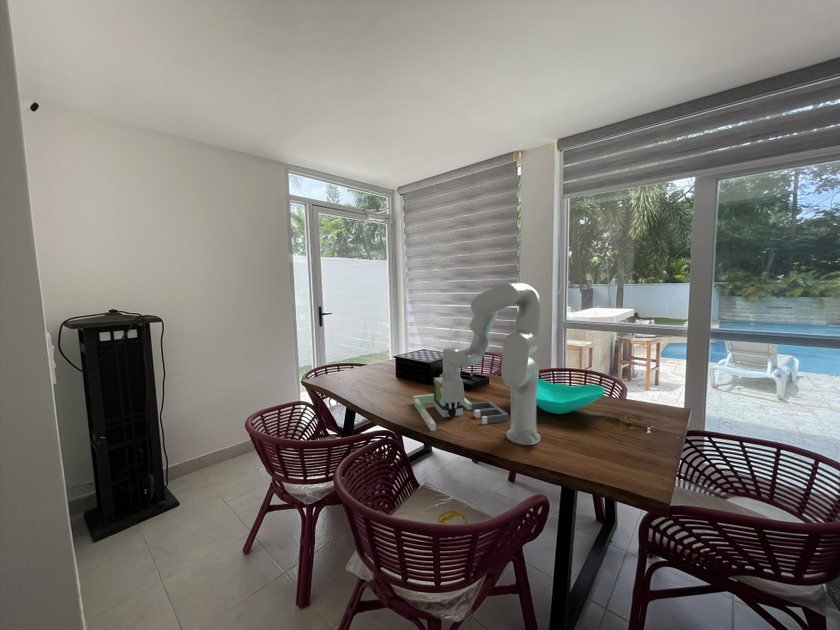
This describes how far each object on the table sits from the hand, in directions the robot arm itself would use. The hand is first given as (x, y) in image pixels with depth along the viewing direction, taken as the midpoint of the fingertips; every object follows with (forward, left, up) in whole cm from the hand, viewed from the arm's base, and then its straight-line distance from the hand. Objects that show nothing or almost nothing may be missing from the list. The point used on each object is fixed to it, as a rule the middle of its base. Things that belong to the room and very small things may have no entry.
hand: (452, 416), depth 149 cm
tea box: (+9, -1, -1) cm, 9 cm away
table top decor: (-6, -49, -1) cm, 49 cm away
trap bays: (-1, -17, -1) cm, 18 cm away
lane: (+7, 0, -1) cm, 7 cm away
